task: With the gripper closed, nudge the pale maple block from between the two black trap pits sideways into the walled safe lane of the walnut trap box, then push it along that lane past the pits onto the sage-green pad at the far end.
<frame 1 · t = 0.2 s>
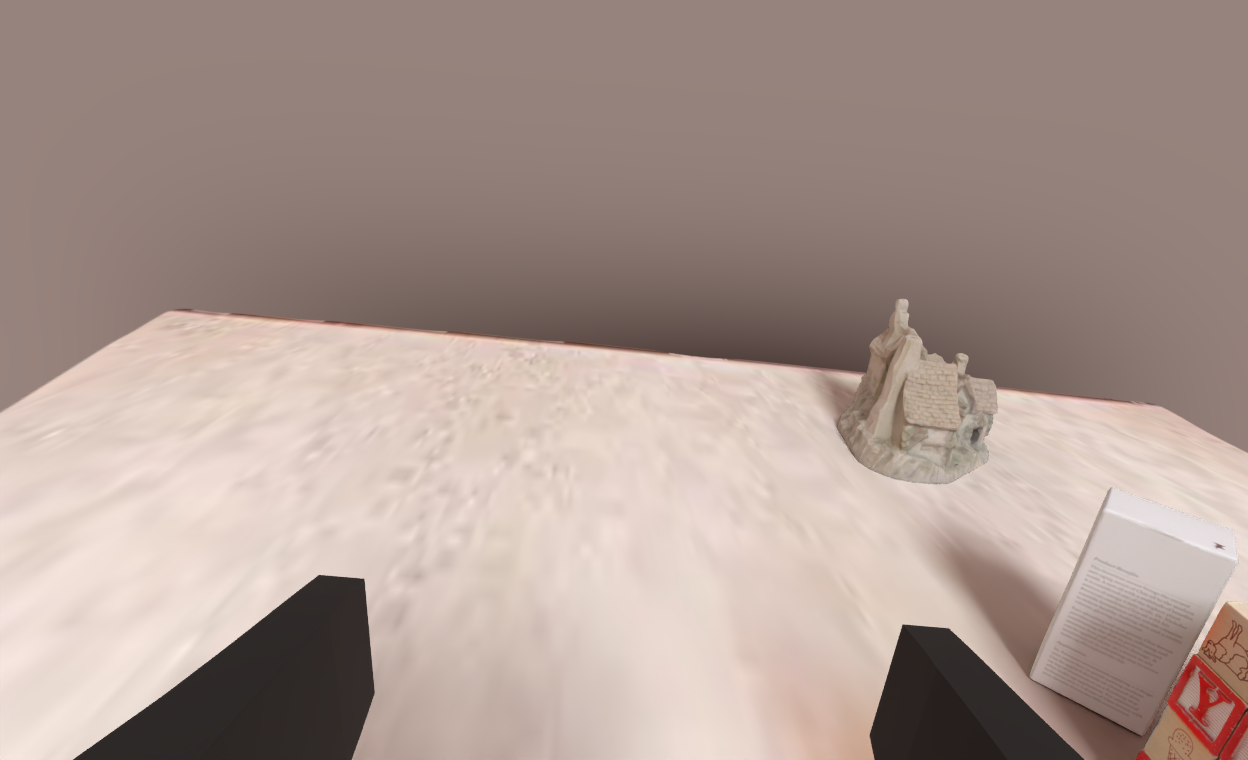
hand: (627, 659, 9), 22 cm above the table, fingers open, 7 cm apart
skincare box: (1084, 690, 42), on the table
ceramic cottage: (914, 451, 71), on the table
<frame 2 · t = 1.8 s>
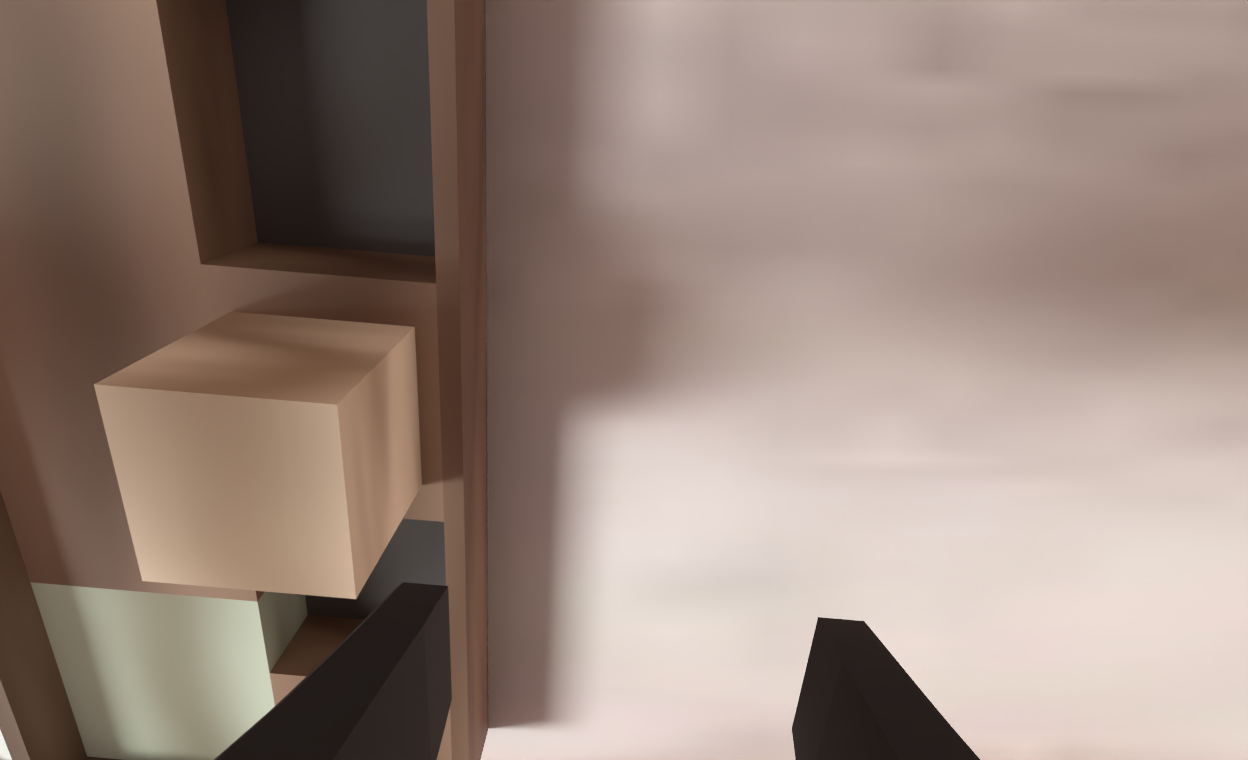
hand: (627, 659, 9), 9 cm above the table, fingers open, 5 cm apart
trap box: (258, 353, 18), on the table
maple block: (331, 402, 16), point 2 cm above the table, touching trap box
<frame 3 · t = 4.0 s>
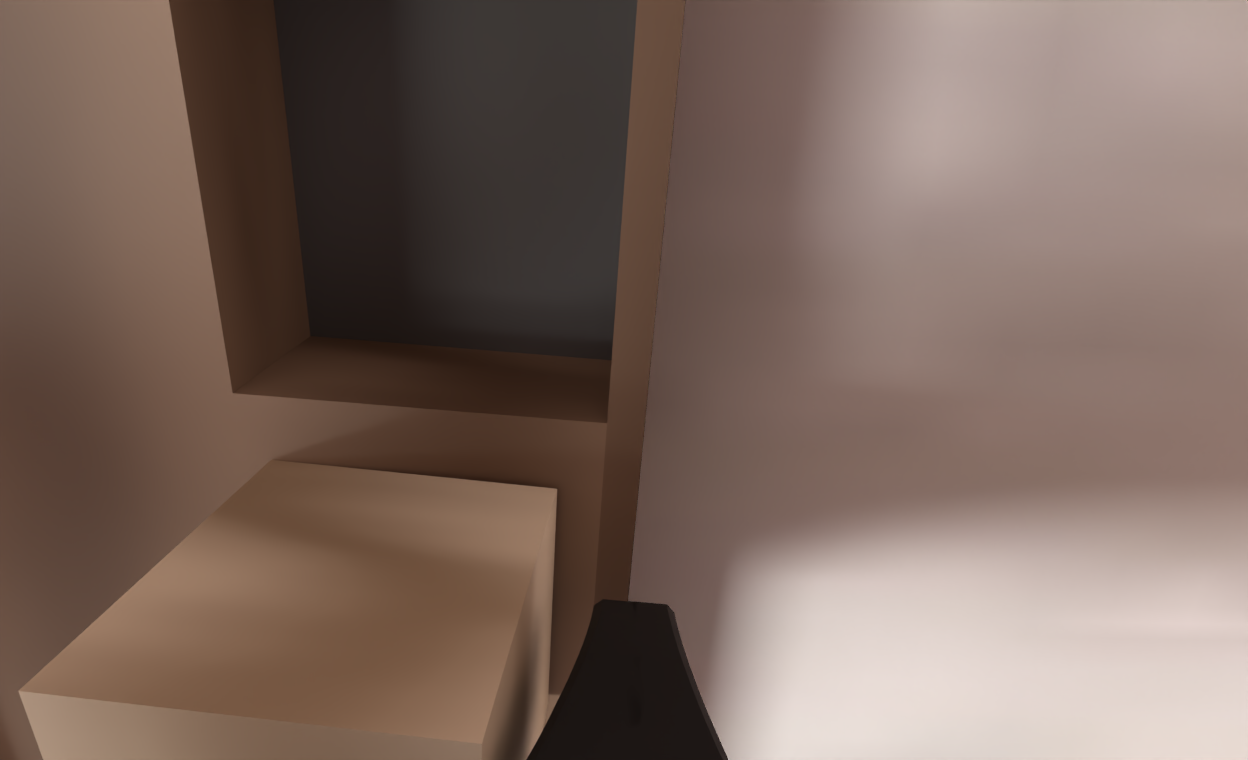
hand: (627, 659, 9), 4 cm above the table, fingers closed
trap box: (305, 484, 13), on the table
maple block: (419, 590, 10), point 3 cm above the table, touching gripper, trap box
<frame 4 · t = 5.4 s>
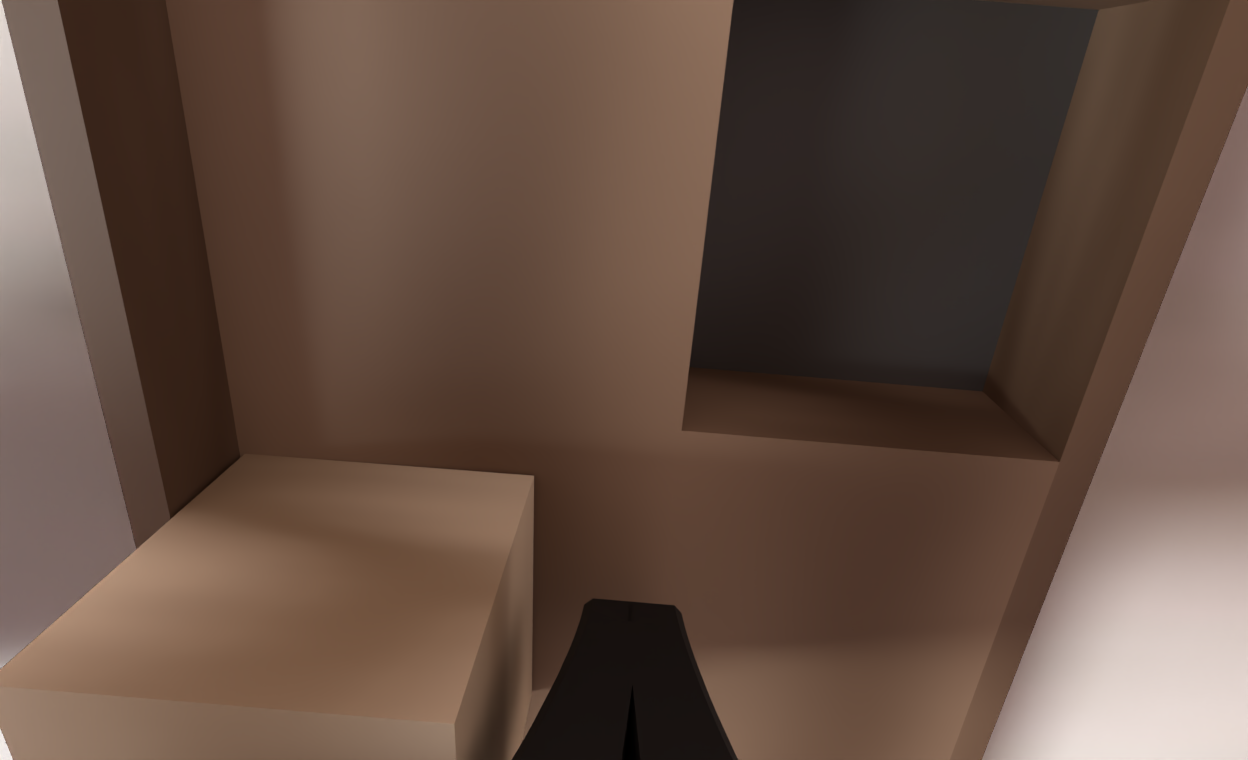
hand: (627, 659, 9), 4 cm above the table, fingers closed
trap box: (631, 511, 13), on the table
maple block: (398, 582, 10), point 3 cm above the table, touching gripper, trap box
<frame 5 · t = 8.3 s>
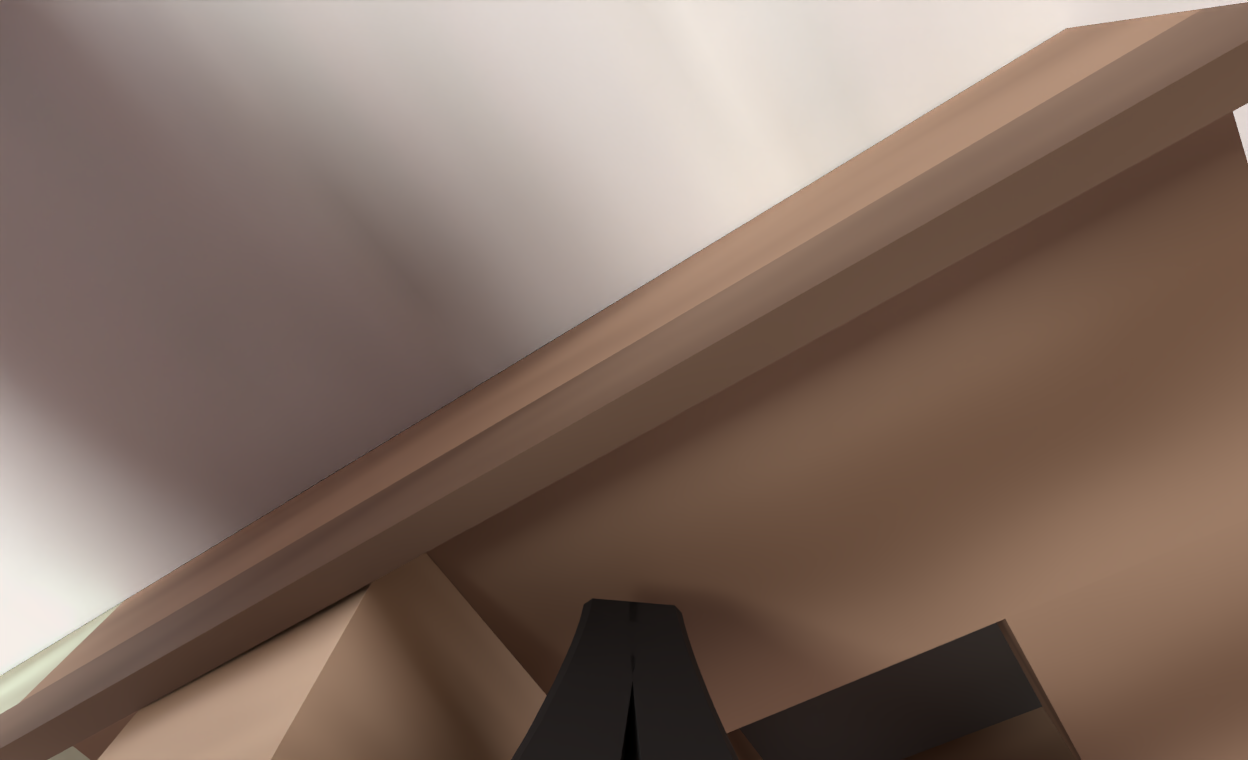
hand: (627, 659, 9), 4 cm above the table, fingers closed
trap box: (539, 681, 14), on the table
maple block: (382, 670, 11), point 3 cm above the table, touching gripper
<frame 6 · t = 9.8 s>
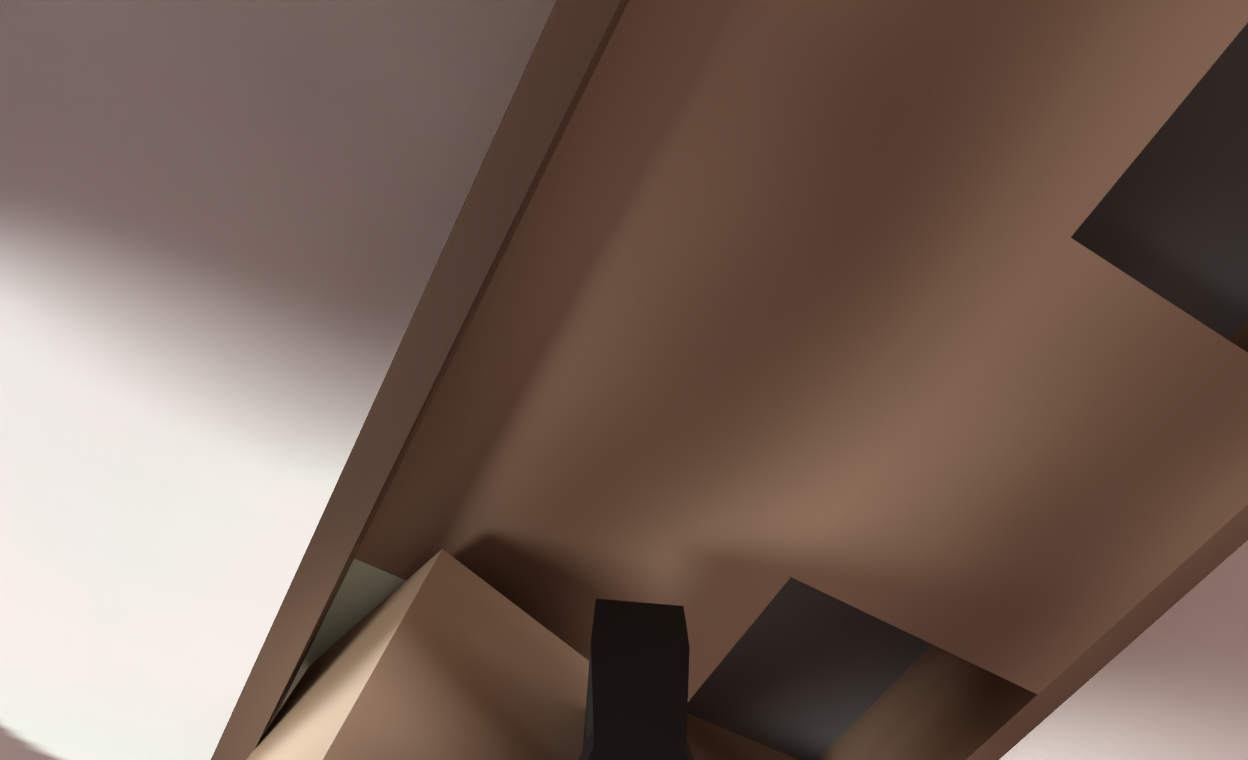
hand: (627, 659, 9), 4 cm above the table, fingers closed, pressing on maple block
trap box: (836, 345, 12), on the table
maple block: (470, 684, 11), point 3 cm above the table, tilted 9°, touching gripper, trap box
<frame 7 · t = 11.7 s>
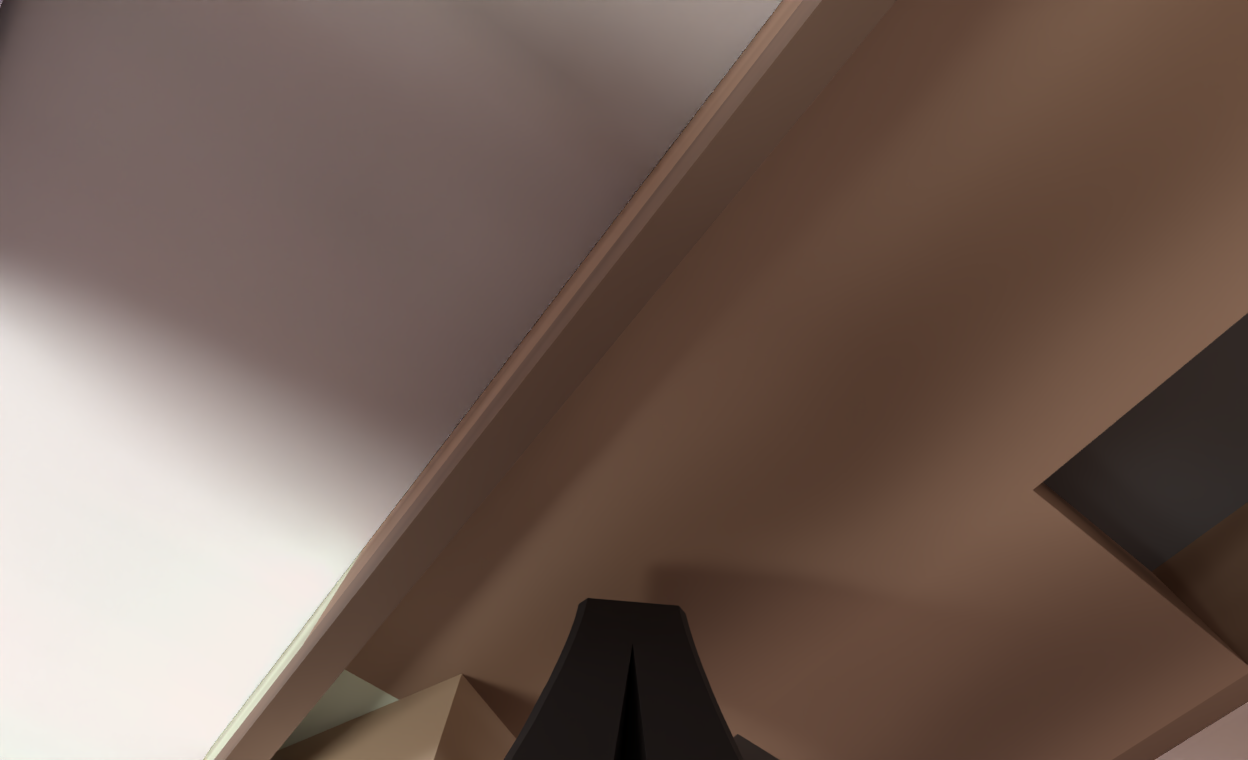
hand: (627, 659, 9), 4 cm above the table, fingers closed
trap box: (811, 511, 13), on the table
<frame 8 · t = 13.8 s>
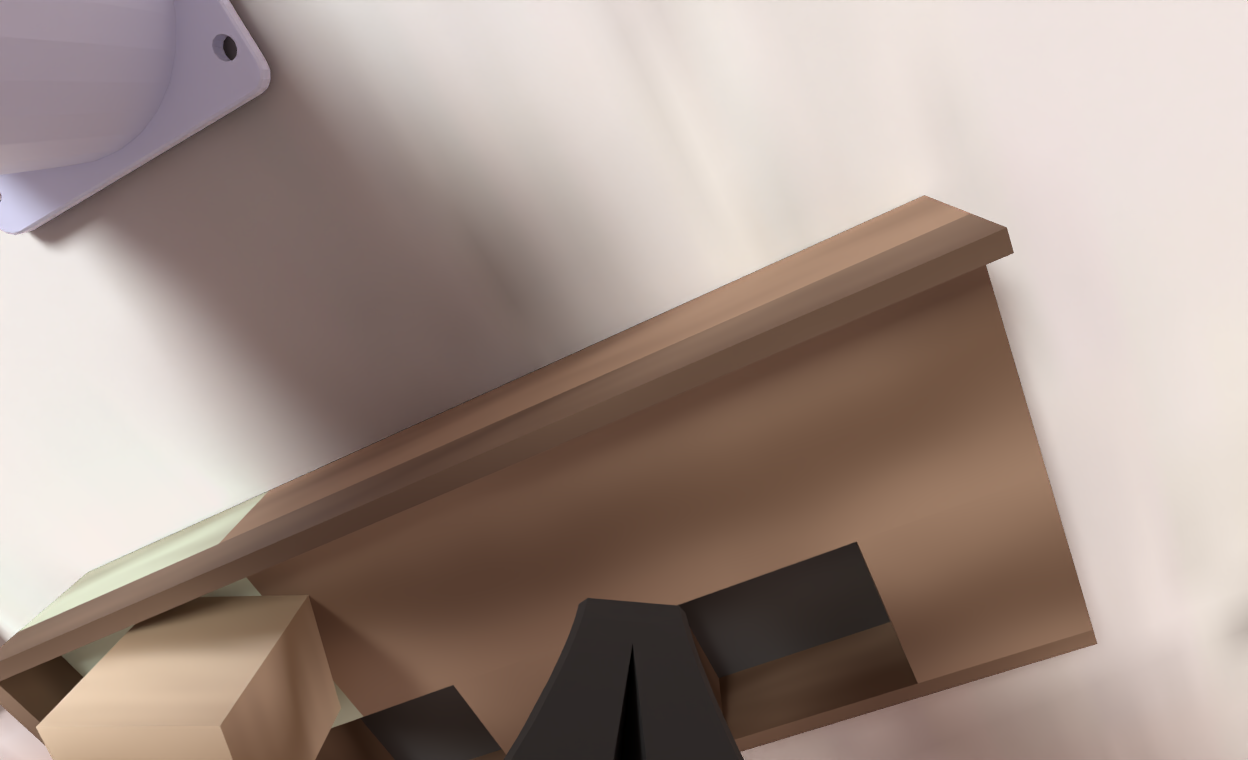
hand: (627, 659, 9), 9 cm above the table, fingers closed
trap box: (552, 575, 21), on the table
maple block: (254, 654, 19), point 2 cm above the table, touching trap box
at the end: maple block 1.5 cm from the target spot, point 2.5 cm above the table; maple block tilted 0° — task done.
